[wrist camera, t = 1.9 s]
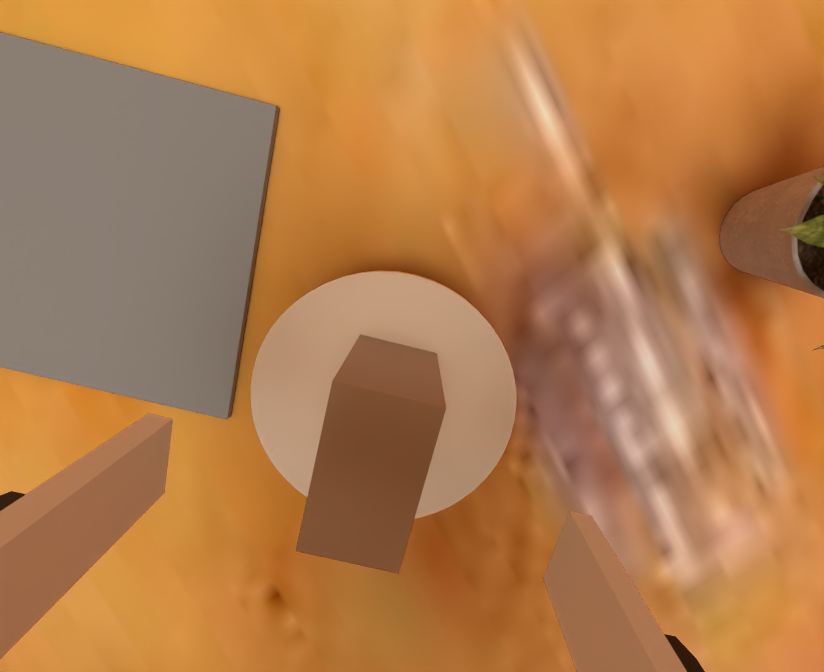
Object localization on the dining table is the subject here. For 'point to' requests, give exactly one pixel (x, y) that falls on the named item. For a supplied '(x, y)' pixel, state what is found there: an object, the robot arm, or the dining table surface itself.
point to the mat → (127, 226)
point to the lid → (380, 409)
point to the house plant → (780, 233)
